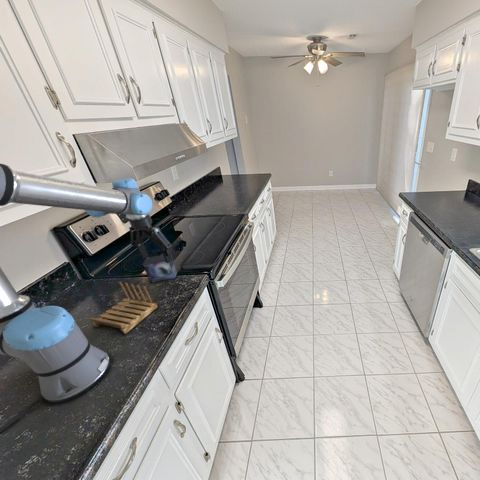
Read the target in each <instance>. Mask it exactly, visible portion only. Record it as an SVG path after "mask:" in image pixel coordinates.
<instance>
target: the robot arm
mask: <svg viewBox="0 0 480 480" xmlns="http://www.w3.org/2000/svg"><path fill="white" fill-rule="evenodd" d="M111 186H112V188H109V187H108V188H107V187H103V186H97V185H92V184H88V183H87V184H86V183H81V182H76V181H70V180H65V179H60V178H55V177H50V176H44V175H39V174H33V173H28V172H24V171H19V170H13V169H12V167H11V166H9V165H7V164H5V163H0V207H4V206H7V205H9V204H21V205H29V206H41V207H52V208H61V209H72V210H83V211H85V212H86V214H87V215H89V216H90V217H93V218H97V219H98V218H101V217H105V216H106V215H110V214H111V215H125V216H126V219H128V221H129V225H130V227H128V229H129V233H130V245H131V246H134V247H135V248H136V249H137V251H138V253H139V256H140V257H141V259H142V261H145V259H146V258H148V257H150V256H149V254H148V251H147V249H146V246H145V245H144V243H143V241H144V239H145V238H147V239H149V240H152V241H153V243H155V244H156V245H157V246H158V247H159V248H160V249H161V253H162V255H163V256H164V258H165V260H166V263H169V262H170V261H172V259H173V256H172V253H171V251H170V248H171V247H173V246H172V244H171V242H170V241H169V240H168V239H167V237H166V236H165V235H164V234H163V233H162V231H161V229H160V227H158V226H156V227H153V226H152V224H153V220H152V217H151V215H150V213H151V212H152V210H153V200H152V198H151V197H150V196H149V195H147V194H146V193H142V192H141V191H140V187H139V185H138V183H137V181H136V180H135V179H134V178H131V177H125V178H119V179H116V180H113V181H112V182H111ZM171 256H172V257H171ZM0 355H2V356H3V355H4V356H7V357H11V358H15V359H20V360H22V361H23V362H24V363H26V365H27V366H28V367H29V368H30V369H31V370H32V371H33V372H34V373H35V375H36V376H37V377H38V384H39V389H40V390H39V391H40V394H41V396H40V397H39V398H37V399H36V400H35V401H33V402H32V403H30V404H29V405H28V406H26V408H24V409H23V410H22V411H20V412H19V413H18V414H17V415H16V416H14V417H12V419H11V420H10V421H8V422H7V423H5V424H4V425H3V426H1V427H0V433H2V432H3V431H4V430H6V429H7V428H9V427H10V426H11V425H12V424H14V423H15V422H16V421H17V420H18V419H20V418H21V417H22V416H23V415H24V414H26V413H27V412H28V411H29V410H30V409H32V408H33V407H35V406H36V405H37V404H39V402H41V401H42V400H43V399H44V400H45V401H46V402H48V403H51V404H60V403H64V402H67V401H70V400H73V399H75V398H77V397H80V396H81V395H82V394H84V393H86V392H88V391H89V390H90V389H92V388H93V387H94V386H96V385H97V384H98V383H99V382H100V381H101V380H102V379H103V378H104V377H105V375H106V374H107V373H108V371H109V369H110V367H111V358H110V356H109V355H108V353H107V352H105V351H104V350H102V349H100V348H98V347H96V346H94V345H93V344H91V343H90V341H89V340H88V339H87V337H86V335H85V334H84V333H83V331H82V329H80V327H79V325H78V324H77V322H76V321H75V319H74V317H73V316H72V314H71V313H69V312H68V311H67V309H65V308H64V307H61V306H58V305H45V306H42V307H41V308H40V307H36V305H35V304H34V302H33V301H32V299H31V297H30V296H28V295H23V294H18V293H17V290H16V289H15V287H14V286H13V284H12V283H11V281H10V280H9V278H8V276H7V275H6V273H5V272H4V270H3V269H2V268H1V266H0Z"/></svg>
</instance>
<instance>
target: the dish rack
mask: <svg viewBox="0 0 480 480" xmlns="http://www.w3.org/2000/svg"><path fill="white" fill-rule="evenodd" d="M118 284H119V287H120V288H121V290H122V292H123V294H124V295H125V297H124V298H122V299H121V301H119V302H117V303H116V305H113V306H111V308H110V309H107V310H106V311H105V312H104V313H102V314H100V315H99V317H96V318H95V317H90V318H89V320H90V321H91V322H92V325H93V326H94V327H95V328H98V327H100V326H102V325H104V326H108V327H112V328H117V329H120V331H121V333H122V335H123V334H124V335H126V334H127V333H128V332H130V331H131V330H132V329H134V327H136V326H137V325H138V324H139V323H141V322H142V321H143V320H144V319H146V317H148V316H149V315H150V314H151V313H152V312H154V311H155V310H156V309H157V308H158V305H157V303H156V302H153V300H152V298H151V296H150V294H149V291H148V290H147V287H146V286H145V285H142V289H143V291H144V293H145V295H144V293H143V291H142V289H141V286H140V285H139V284H136V287H135V285H134V284H133V283H130V286H129V284H128V282H124V284H123V282H122V281H118ZM125 287H126V289H125ZM130 287H131V288H130ZM136 288H137V290H138V291H137V290H136ZM131 289H132V290H131ZM132 291H133V292H132ZM138 292H139V294H140V295H139V294H138ZM128 293H129V294H128ZM133 293H134V294H133ZM129 295H130V296H129ZM134 295H135V296H134ZM140 296H141V297H140ZM145 296H146V297H145ZM130 297H131V298H130ZM135 297H136V298H135ZM141 298H142V300H141ZM147 299H148V301H149V302H148V301H147Z"/></svg>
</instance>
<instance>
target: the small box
mask: <svg viewBox="0 0 480 480" xmlns="http://www.w3.org/2000/svg"><path fill="white" fill-rule="evenodd" d="M171 257H172V261H170V262H169V263H166V260H165V258H164V256H163V254H160V255H155V256H149V257H148V258H146V259H145V260H143V263H142V268H143V269H144V272H145V274H146V276H147V278H148V280H149V282H150V284H154V283H159V282H165V281H171V280H175V279H176V277H177V276H178V272H179V271H178V269H177V266H176V264H175V261H174V259H173V256H172V255H171Z"/></svg>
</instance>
